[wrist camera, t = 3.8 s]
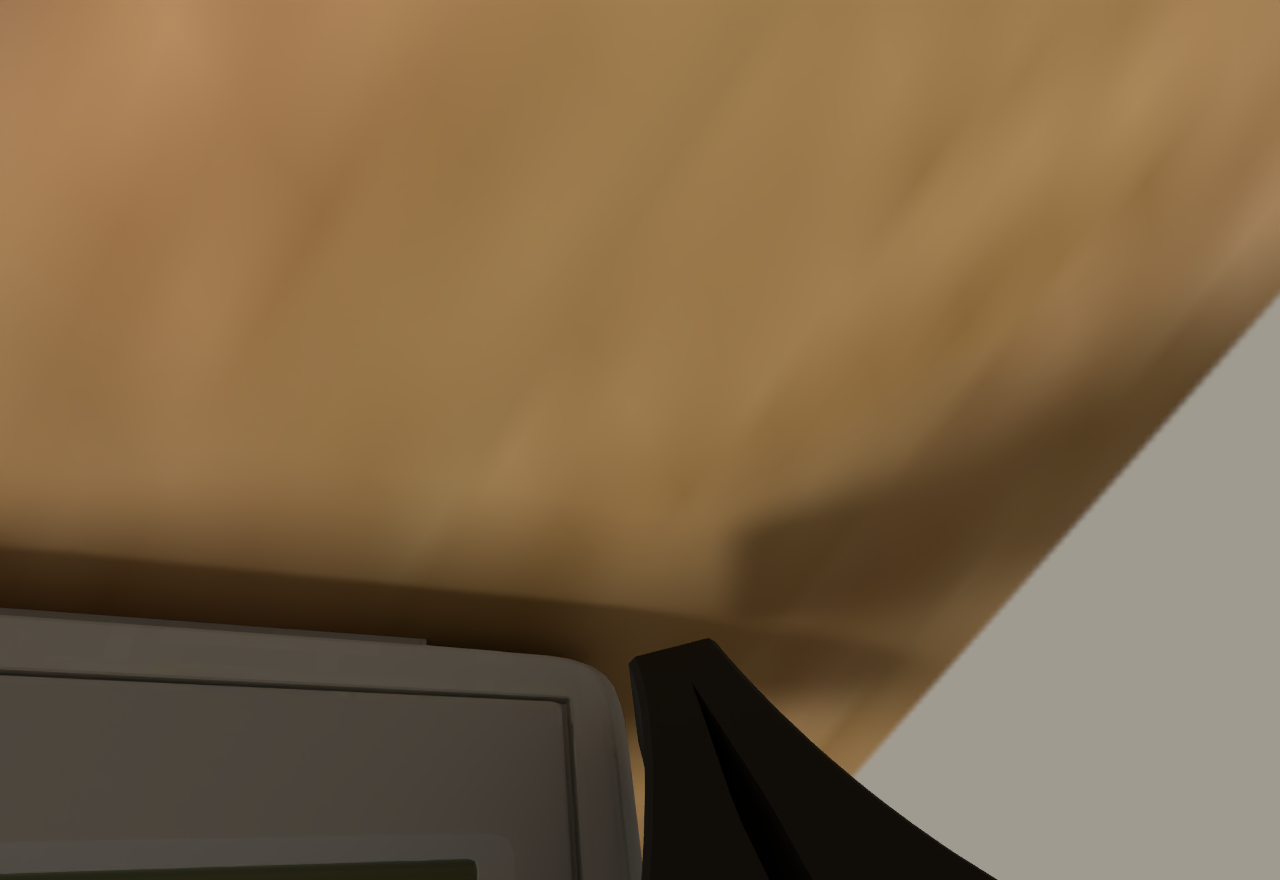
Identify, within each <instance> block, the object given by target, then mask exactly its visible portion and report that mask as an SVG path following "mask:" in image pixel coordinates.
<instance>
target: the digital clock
mask: <svg viewBox="0 0 1280 880" xmlns="http://www.w3.org/2000/svg"><path fill="white" fill-rule="evenodd" d="M641 875H642V857H641V848H640V840H639V831H638V823H637V815H636V806H635V798H634V789H633V781H632V773H631V764H630V756H629V747H628V740H627V734H626V728H625V722H624V716H623V712H622V708H621V704H620V700H619V698H618V696H617V693H616V691H615V688H614V686H613V685H612V683H611V682H610V681H609V679H608V678H607V677H606V676H605V674H603V673H602V672H600V671H599V670H597V669H595V668H594V667H592V666H591V665H588V664H585V663H581V662H578V661H575V660H572V659H568V658H562V657H555V656H548V655H536V654H524V653H511V652H501V651H490V650H478V649H465V648H453V647H441V646H429V645H427V639H418V638H404V637H391V636H377V635H364V634H350V633H337V632H323V631H310V630H296V629H282V628H269V627H255V626H242V625H228V624H215V623H201V622H188V621H174V620H160V619H147V618H133V617H120V616H106V615H93V614H79V613H66V612H52V611H38V610H25V609H11V608H0V880H641Z"/></svg>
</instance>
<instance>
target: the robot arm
mask: <svg viewBox="0 0 1280 880" xmlns="http://www.w3.org/2000/svg"><path fill="white" fill-rule="evenodd" d="M629 670H630V678H631V686H632V694H633V702H634V710H635V718H636V727H637V735H638V742H639V746H640V750H641V754H642V758H643V763H644V767H645V812H644V844H643V861H642V875H641V880H997V879H995V878H994V877H992V876H990V875H989V874H987V873H986V872H984V871H983V870H981V869H979V868H978V867H976V866H975V865H973V864H972V863H970V862H968V861H967V860H965V859H963V858H962V857H960V856H959V855H957V854H956V853H954V852H952V851H951V850H950V849H948V848H947V847H945V846H944V845H942V844H941V843H939V842H938V841H936V840H935V839H934V838H932V837H931V836H929V835H928V834H927V833H925V832H924V831H922V830H921V829H919V828H918V827H917V826H915V825H914V824H912V823H911V822H910V821H908V820H907V819H906V818H904V817H903V816H902V815H900V814H899V813H898V812H896V811H895V810H894V809H892V808H891V807H889V806H888V805H887V804H885V803H884V802H883V801H882V800H880V799H879V798H878V797H876V796H875V795H874V794H873V793H871V792H870V791H868V789H866V788H865V787H864V786H863V785H861V784H860V783H859V782H858V781H856V780H855V779H854V778H853V777H852V776H851V775H849V774H848V773H847V772H846V771H845V770H843V769H842V768H841V767H840V766H839V765H838V764H836V763H835V762H834V761H833V760H832V759H831V758H829V757H828V756H827V755H826V754H825V753H824V752H823V751H821V750H820V749H819V748H818V747H817V746H816V745H815V744H814V743H812V742H811V741H810V740H809V739H808V738H807V737H806V736H805V735H804V734H803V733H802V732H801V731H800V730H799V729H798V728H796V727H795V726H794V725H793V724H792V723H791V722H790V721H789V720H788V719H787V718H786V717H785V716H784V715H783V714H782V713H781V712H780V711H779V710H778V709H777V708H776V707H775V706H774V705H773V704H772V703H771V702H770V701H769V700H768V699H767V698H766V697H765V696H764V695H763V694H762V693H761V692H760V691H759V690H758V689H757V688H756V687H755V686H754V685H753V684H752V683H751V682H750V681H749V680H748V679H747V678H746V676H745V675H744V674H743V673H742V672H741V671H740V670H739V669H738V668H737V667H736V666H735V664H734V663H733V662H732V661H731V660H730V659H729V658H728V656H727V655H726V654H725V653H724V652H723V651H722V650H721V648H720V647H719V646H718V645H717V644H716V642H714V641H713V640H711V639H709V638H707V639H703V640H699V641H695V642H691V643H687V644H683V645H680V646H676V647H672V648H668V649H664V650H660V651H656V652H652V653H648V654H645V655H641V656H637V657H635V658H634V659H633V660H632V661H631V662H630V663H629Z"/></svg>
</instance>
